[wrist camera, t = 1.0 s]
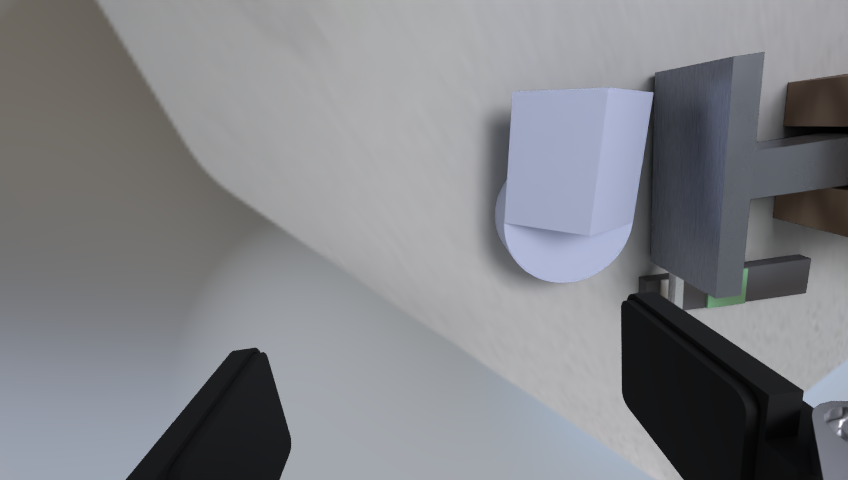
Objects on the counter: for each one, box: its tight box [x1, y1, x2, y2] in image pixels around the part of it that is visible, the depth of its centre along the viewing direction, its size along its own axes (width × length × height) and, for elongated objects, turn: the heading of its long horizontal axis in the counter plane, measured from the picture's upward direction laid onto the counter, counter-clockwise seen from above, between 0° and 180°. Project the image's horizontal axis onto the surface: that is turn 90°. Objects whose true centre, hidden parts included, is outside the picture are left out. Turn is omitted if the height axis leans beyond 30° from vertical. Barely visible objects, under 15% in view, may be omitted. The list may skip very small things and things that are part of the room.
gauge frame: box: [639, 74, 848, 310], centre depth 26 cm, size 18×22×8 cm
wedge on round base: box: [495, 87, 654, 283], centre depth 27 cm, size 9×7×13 cm
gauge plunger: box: [651, 52, 848, 309], centre depth 26 cm, size 18×10×7 cm, turn 8°
